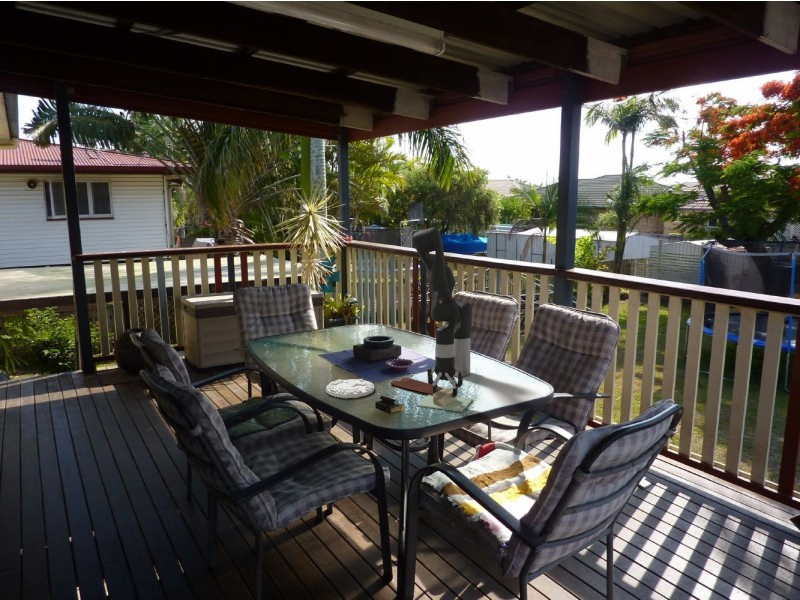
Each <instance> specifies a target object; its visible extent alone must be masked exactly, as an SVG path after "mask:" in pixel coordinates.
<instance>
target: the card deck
mask: <svg viewBox="0 0 800 600" xmlns="http://www.w3.org/2000/svg"><path fill="white" fill-rule="evenodd" d="M457 397H458V395H457V396H456V397H455V398H453V388H450V387H445V388H444V389H442V390H440V391H438V392H436V393H434V394H433V404H436V405H440V406H446V405H448V404H450V403H452V402H454V401H456V400H457Z"/></svg>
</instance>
